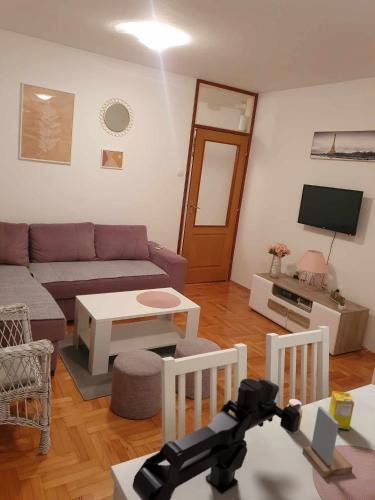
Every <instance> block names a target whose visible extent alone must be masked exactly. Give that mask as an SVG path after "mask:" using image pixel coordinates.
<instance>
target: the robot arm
mask: <svg viewBox="0 0 375 500" xmlns="http://www.w3.org/2000/svg"><path fill="white" fill-rule="evenodd" d="M279 390H280V387H279V386H278V385H277V384H276V383H274V382H272V381H271V380H268V379H263V378H262V377H259V378H255V379H252V378H243V379H242V380H241V381H240V384H239V387H238V389H237V400H236V401H233V400H231V399H229V400H228V401H227V402H226V403H225V404H223V406H222V407H221V409H220V410H219V412H218V413H217V414H216V415H214V416H213V417H212V418H211V420H210V422H209V423H208V424H207V425H206V426H203V427H202V428H200V429H197V430H195V431H192V432H191V433H189V434H186V435H185V436H182V437H180V438H178V439H176V440H174V441H171V440H169V441H167V442H165V443H164V445H162V447H161V448H160V450H159V451H158V452H157V453H155V454H153V455H152V456H150V457H147V458H146V460H144V462H143V463H142V465H141V467H139V469H138V470H137V472H136V474H135V475H134V477H133V482H132V489H133V491H134V493H136V495H137V496H138V497H139V499H140V500H171V499H172V498H173V497H172V496H173V495H174V492H175V490H176V489H177V488H178V487H180V486H182V485H184V484H185V483H186V482H188V481H190V480H192V479H194V478H195V477H197V476H199V475H200V474H202V473H204V472H206V471H207V470H209V469H210V473H209V474H207V475H206V476H205V479H206V481H208V483H209V484H210V485H211V486H213V487H214V488H215V489H216V490H217V491H218V492H219V493H220V494H224V493H225V492H228V491H229V490H230V489H232V488H234V487H235V486H236V485H238V483H239V480H238V479H236V478H235V475H236V471H237V470H240V469H241V468H242V467H243V465H244V464H243V463H244V462H245V458H246V455H247V452H248V447H247V446H248V445H247V441H246V440H245V438H246V437H245V436H246V432H247V431H249V430H251V429H252V428H254V427H256V426H258V427H260V428H262V427H264V422H265V421H268V422H269V423H271V422H273V420H274V419H273V418H274V416H276V417H278V418H280V423H279V426H280V427H281V428H282V429H284V430H285V431H286V430H287V432H289V433H290V434H295V433H294V432H296V431H297V430H298V425H299V419H300V413H299V411H298V410H299V408H300V404H296V405H294V406H291V405H289V404H288V405H289V406H288V405H286V406H285V407H284V408H282V407H280V406H279V405H277V404H278V403H277V402H276V401H275V400H276V398H277V395H278V392H279ZM230 411H231V412H232V413H234V415H233V414H232V413H230ZM164 462H167V463H168V464H166V465H165V464H162V463H164Z"/></svg>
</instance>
